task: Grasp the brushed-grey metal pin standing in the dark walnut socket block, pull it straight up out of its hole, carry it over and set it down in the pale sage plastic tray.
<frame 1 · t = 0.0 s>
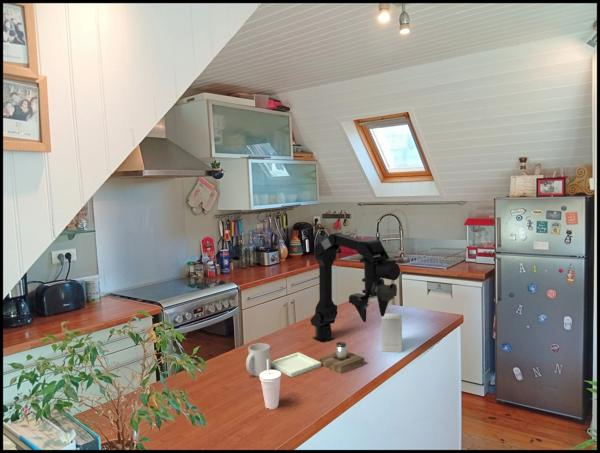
hand: (373, 319, 163), 15 cm above the counter, fingers open, 9 cm apart
socket: (341, 364, 161), on the counter
smoothie: (271, 406, 134), on the counter
cup: (257, 374, 157), on the counter
pin: (341, 354, 161), in the socket
tray: (295, 366, 161), on the counter
supplement box: (392, 348, 174), on the counter
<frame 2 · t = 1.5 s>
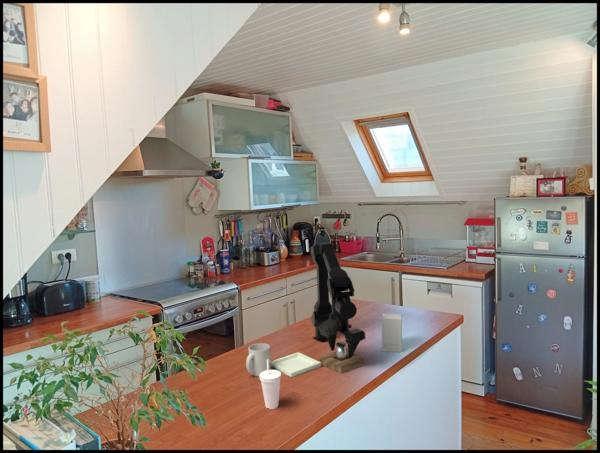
hand: (341, 354, 161), 4 cm above the counter, fingers open, 9 cm apart
nothing on the counter moved.
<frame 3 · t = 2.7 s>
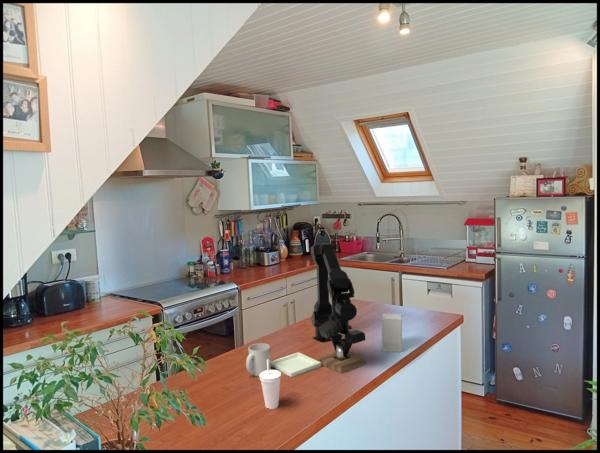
hand: (341, 355, 161), 3 cm above the counter, fingers closed on pin, 3 cm apart
pin: (341, 354, 161), in the socket, touching gripper
everything else where it was.
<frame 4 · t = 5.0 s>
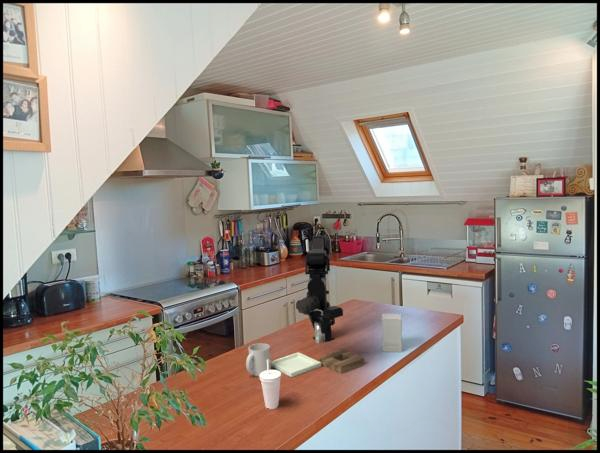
hand: (319, 332, 160), 12 cm above the counter, fingers closed on pin, 3 cm apart
pin: (319, 331, 160), point 12 cm above the counter, touching gripper
everything else where it was.
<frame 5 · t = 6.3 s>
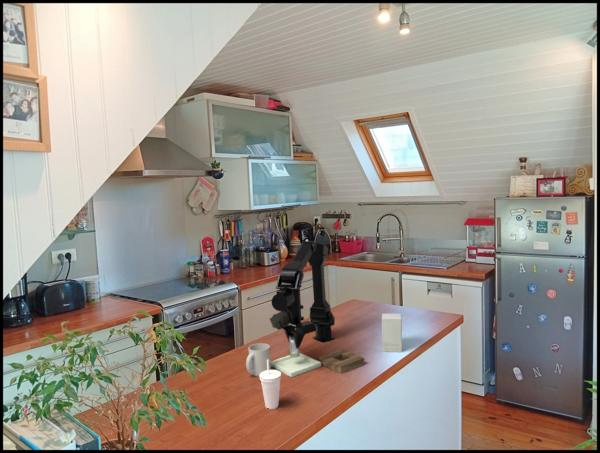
hand: (294, 346, 161), 7 cm above the counter, fingers closed on pin, 3 cm apart
pin: (294, 345, 161), point 8 cm above the counter, touching gripper
everything else where it was.
when the fingers open (5 cm above the counter, at t = 7.3 s): pin stays where it is, resting on tray.
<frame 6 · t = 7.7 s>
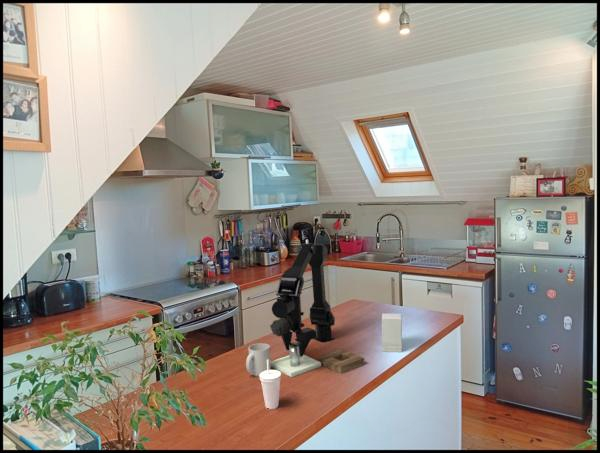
hand: (294, 353, 161), 5 cm above the counter, fingers open, 8 cm apart
pin: (294, 354, 161), in the tray
everything else where it was.
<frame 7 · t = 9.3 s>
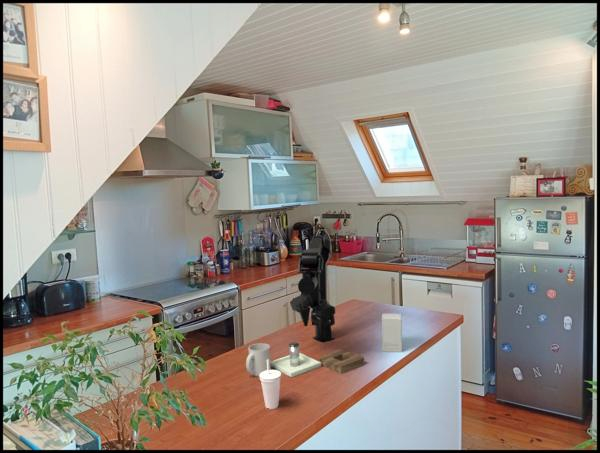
hand: (313, 329, 165), 12 cm above the counter, fingers open, 9 cm apart
nothing on the counter moved.
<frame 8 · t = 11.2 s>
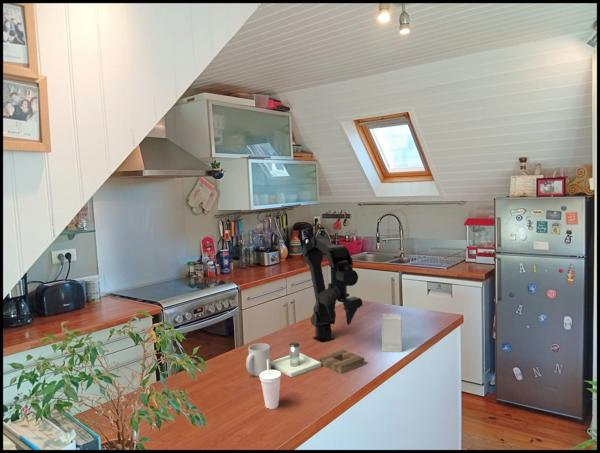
hand: (340, 321, 171), 12 cm above the counter, fingers open, 9 cm apart
nothing on the counter moved.
at the end: pin inside the target area on the tray (0.1 cm from its centre), point 4.3 cm above the tray's base; pin moved 16.4 cm from its start; the gripper is holding nothing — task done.
